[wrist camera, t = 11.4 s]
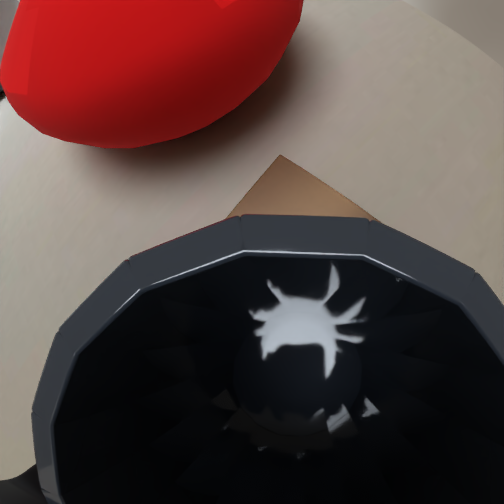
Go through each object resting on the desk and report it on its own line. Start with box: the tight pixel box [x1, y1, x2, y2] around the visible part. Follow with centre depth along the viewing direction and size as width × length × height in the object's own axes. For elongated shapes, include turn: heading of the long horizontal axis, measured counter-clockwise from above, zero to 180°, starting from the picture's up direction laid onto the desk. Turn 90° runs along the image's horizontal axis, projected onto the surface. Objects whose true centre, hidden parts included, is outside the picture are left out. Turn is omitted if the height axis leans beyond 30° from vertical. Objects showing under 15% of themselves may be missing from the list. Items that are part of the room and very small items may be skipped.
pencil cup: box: [31, 214, 504, 504], centre depth 8 cm, size 7×7×12 cm
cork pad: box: [226, 155, 381, 223], centre depth 16 cm, size 11×13×1 cm
